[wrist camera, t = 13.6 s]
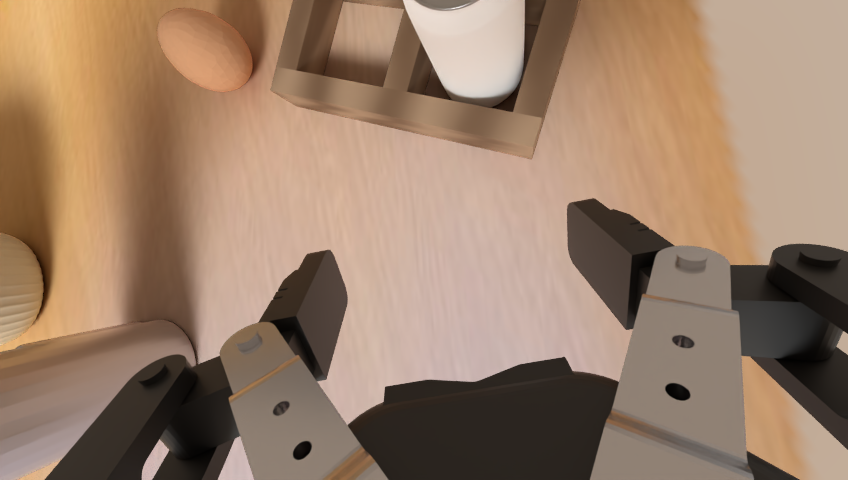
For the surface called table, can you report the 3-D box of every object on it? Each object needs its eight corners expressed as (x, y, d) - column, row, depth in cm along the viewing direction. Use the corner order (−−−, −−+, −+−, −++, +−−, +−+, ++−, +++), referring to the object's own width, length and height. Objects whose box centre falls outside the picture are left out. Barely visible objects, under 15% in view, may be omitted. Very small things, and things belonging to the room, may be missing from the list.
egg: (238, 31, 35) (157, -29, 27) (279, 60, 33) (207, 5, 26) (209, 84, 35) (123, 41, 28) (248, 114, 34) (169, 77, 26)
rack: (296, 106, 33) (270, 90, 29) (329, -24, 32) (306, -55, 28) (531, 159, 27) (533, 147, 23) (579, 3, 26) (588, -33, 23)
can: (495, 14, 28) (477, -151, 16) (540, 77, 27) (554, -50, 15) (428, 65, 29) (367, -52, 18) (468, 127, 28) (431, 46, 17)
